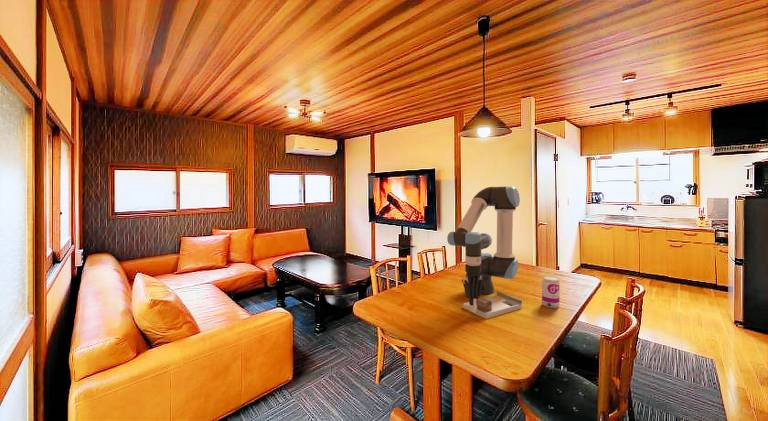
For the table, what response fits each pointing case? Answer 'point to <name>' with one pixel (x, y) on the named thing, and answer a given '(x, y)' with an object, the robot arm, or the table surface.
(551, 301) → the soda can
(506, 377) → the table surface
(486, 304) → the block
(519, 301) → the box
